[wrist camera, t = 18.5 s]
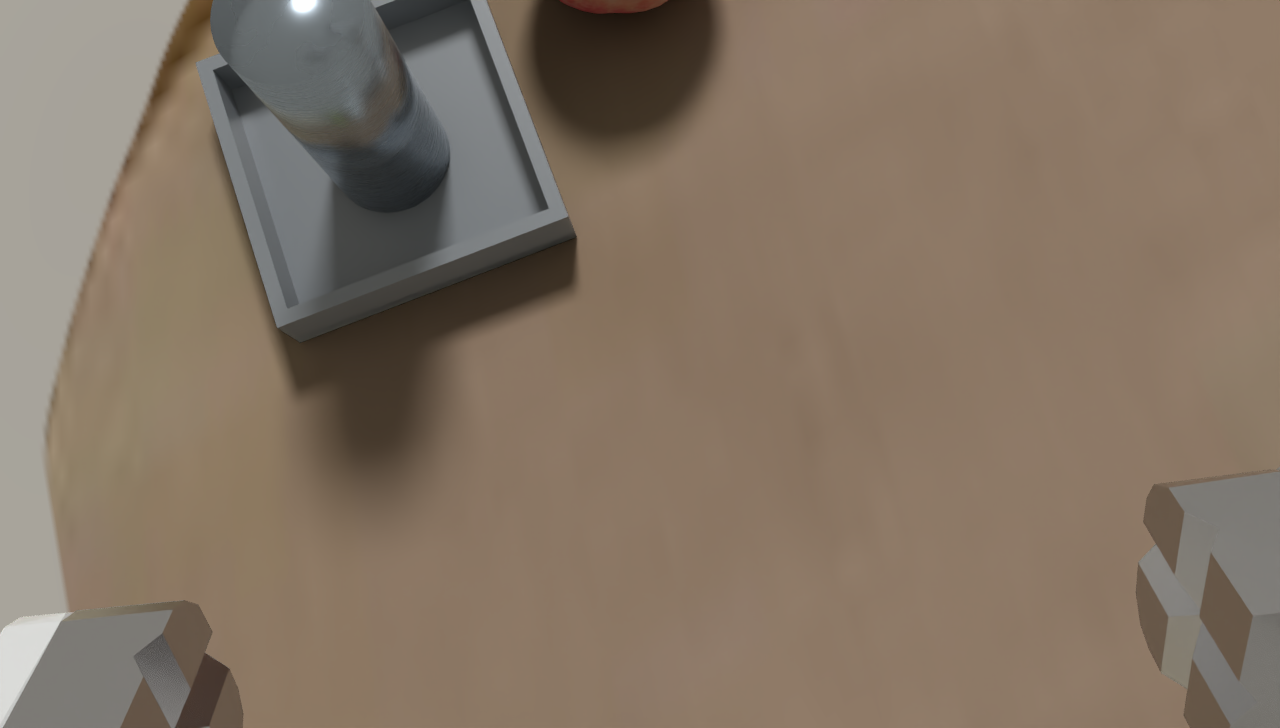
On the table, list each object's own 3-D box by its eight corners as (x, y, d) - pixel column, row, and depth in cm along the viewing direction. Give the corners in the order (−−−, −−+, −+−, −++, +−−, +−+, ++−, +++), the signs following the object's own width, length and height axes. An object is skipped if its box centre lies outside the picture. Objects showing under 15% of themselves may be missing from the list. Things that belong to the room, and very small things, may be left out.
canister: (429, 84, 50) (338, -81, 38) (465, 188, 48) (383, 51, 37) (318, 125, 50) (193, -28, 38) (352, 229, 48) (233, 106, 37)
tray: (482, -11, 51) (470, -42, 49) (576, 236, 48) (568, 216, 46) (221, 89, 51) (195, 62, 49) (300, 342, 48) (277, 327, 46)
